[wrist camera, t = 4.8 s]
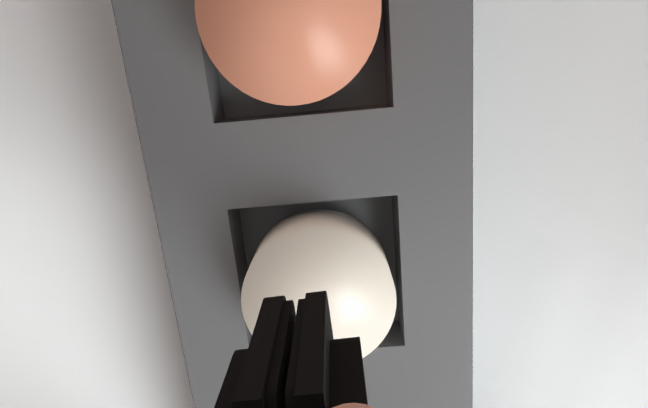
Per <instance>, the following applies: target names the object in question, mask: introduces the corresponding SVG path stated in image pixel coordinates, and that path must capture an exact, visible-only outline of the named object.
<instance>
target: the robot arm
mask: <svg viewBox="0 0 648 408" xmlns="http://www.w3.org/2000/svg"><path fill="white" fill-rule="evenodd" d="M214 408H374V407H371V406H369V405H368V400H367V391H366V383H365V374H364V366H363V358H362V350H361V342H360V337H351V338H341V339H334V338H333V331H332V324H331V317H330V310H329V304H328V297H327V292H326V291H319V292H310V293H306V295H305V299H298V305H297V312H295V306H294V302H293V300H287V301H286V297H285V296H275V297H266V298H264V299H263V301H262V305H261V308H260V311H259V314H258V318H257V321H256V324H255V328H254V331H253V334H252V337H251V341H250V344H249V347H248V349H239V350H235V351H234V353H233V356H232V358H231V361H230V364H229V367H228V370H227V372H226V375H225V378H224V381H223V384H222V387H221V389H220V392H219V395H218V398H217V401H216V404H215V406H214Z"/></svg>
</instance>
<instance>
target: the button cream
mask: <svg viewBox="0 0 648 408" xmlns="http://www.w3.org/2000/svg"><path fill="white" fill-rule="evenodd" d="M319 291H326V292H327V297H328V304H329V310H330V317H331V324H332V331H333V338H334V339H341V338H351V337H360V342H361V350H362V358H364V357H365V356H367V355H368V354H370V353H371V352H372V351H373V350H374V349H376V348H377V347H378V345H379V344H380V343H381V342H382V341H383V340H384V338H385V337H386V335H387V334H388V332H389V330H390V328H391V326H392V323H393V320H394V317H395V312H396V300H397V297H396V289H395V285H394V282H393V278H392V275H391V272H390V268H389V265H388V262H387V259H386V255H385V252H384V250H383V248H382V245H381V243H380V242H379V240H378V239H377V237H376V236H375V235H374V233H373V232H372V231H371V230H370V229H369V228H368V227H367V226H366V225H365V224H363V223H362V222H360V221H359V220H358V219H356V218H354V217H352V216H350V215H347V214H345V213H342V212H339V211H334V210H328V209H312V210H305V211H301V212H298V213H295V214H292V215H290V216H288V217H286V218H284V219H282V220H281V221H279V222H278V223H277V224H275V225H274V226H273V227H272V228H271V229H270V230H269V231H268V232H267V233H266V235H265V236H264V237H263V239H262V240H261V242H260V244H259V246H258V248H257V250H256V252H255V255H254V257H253V259H252V262H251V264H250V266H249V269H248V271H247V273H246V276H245V279H244V282H243V286H242V291H241V306H242V313H243V317H244V320H245V323H246V325H247V327H248V329H249V331H250V333H251V335H252V334H253V331H254V328H255V324H256V321H257V318H258V314H259V311H260V308H261V305H262V301H263V299H264V298H266V297H275V296H285V297H286V301H287V300H293V302H294V306H295V312H297V305H298V299H305V295H306V293H310V292H319Z"/></svg>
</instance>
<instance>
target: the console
mask: <svg viewBox="0 0 648 408" xmlns="http://www.w3.org/2000/svg"><path fill="white" fill-rule="evenodd" d="M111 1H112V6H113V11H114V16H115V21H116V26H117V31H118V35H119V40H120V45H121V50H122V55H123V60H124V65H125V70H126V74H127V79H128V84H129V89H130V94H131V99H132V104H133V109H134V113H135V118H136V123H137V128H138V133H139V138H140V143H141V148H142V152H143V157H144V162H145V167H146V172H147V177H148V182H149V187H150V191H151V196H152V201H153V206H154V211H155V216H156V221H157V226H158V230H159V235H160V240H161V245H162V250H163V255H164V260H165V265H166V269H167V274H168V279H169V284H170V289H171V294H172V299H173V304H174V308H175V313H176V318H177V323H178V328H179V333H180V338H181V343H182V347H183V352H184V357H185V362H186V367H187V372H188V377H189V382H190V386H191V391H192V396H193V401H194V406H195V408H214V406H215V404H216V401H217V398H218V395H219V392H220V389H221V387H222V384H223V381H224V378H225V375H226V372H227V370H228V367H229V364H230V361H231V358H232V356H233V353H234V351H235V350H239V349H248V347H249V344H250V341H251V337H252V335H251V333H250V331H249V329H248V327H247V325H246V323H245V320H244V317H243V313H242V306H241V291H242V286H243V282H244V279H245V276H246V273H247V271H248V269H249V266H250V264H251V262H252V259H253V257H254V255H255V252H256V250H257V248H258V246H259V244H260V242H261V240H262V239H263V237H264V236H265V235H266V233H267V232H268V231H269V230H270V229H271V228H272V227H273V226H274V225H275V224H277V223H278V222H279V221H281V220H282V219H284V218H286V217H288V216H290V215H292V214H295V213H298V212H301V211H305V210H312V209H328V210H334V211H339V212H342V213H345V214H347V215H350V216H352V217H354V218H356V219H358V220H359V221H360V222H362V223H363V224H365V225H366V226H367V227H368V228H369V229H370V230H371V231H372V232H373V233H374V235H375V236H376V237H377V239H378V240H379V242H380V243H381V245H382V248H383V250H384V252H385V255H386V259H387V262H388V265H389V268H390V272H391V275H392V278H393V282H394V285H395V289H396V297H397V300H396V312H395V317H394V320H393V323H392V326H391V328H390V330H389V332H388V334H387V335H386V337H385V338H384V340H383V341H382V342H381V343H380V344H379V345H378V347H377V348H376V349H374V350H373V351H372V352H371V353H370V354H368V355H367V356H365V357H364V358H363V366H364V374H365V383H366V391H367V400H368V405H369V406H371V407H374V408H472V309H473V0H381V21H380V28H379V31H378V35H377V39H376V42H375V44H374V47H373V50H372V52H371V54H370V56H369V57H368V59H367V61H366V63H365V64H364V66H363V67H362V68H361V70H360V71H359V73H358V74H357V75H356V76H355V77H354V78H353V79H352V80H351V81H350V82H349V83H348V84H347V85H345V86H344V87H343V88H342V89H340V90H339V91H337V92H336V93H334V94H332V95H331V96H329V97H326V98H324V99H322V100H319V101H316V102H313V103H310V104H304V105H295V106H284V105H275V104H271V103H267V102H263V101H261V100H258V99H255V98H253V97H251V96H249V95H247V94H245V93H244V92H242V91H240V90H239V89H238V88H236V87H235V86H234V85H232V84H231V83H230V82H229V81H228V80H227V79H226V78H225V77H224V76H223V75H222V74H221V73H220V72H219V70H218V69H217V68H216V67H215V65H214V64H213V62H212V61H211V59H210V58H209V56H208V54H207V52H206V50H205V48H204V46H203V43H202V41H201V38H200V35H199V32H198V27H197V23H196V17H195V0H111Z"/></svg>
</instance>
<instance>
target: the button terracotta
mask: <svg viewBox="0 0 648 408" xmlns="http://www.w3.org/2000/svg"><path fill="white" fill-rule="evenodd" d="M195 17H196V23H197V27H198V32H199V35H200V38H201V41H202V43H203V46H204V48H205V50H206V52H207V54H208V56H209V58H210V59H211V61H212V62H213V64H214V65H215V67H216V68H217V69H218V70H219V72H220V73H221V74H222V75H223V76H224V77H225V78H226V79H227V80H228V81H229V82H230V83H231V84H232V85H234V86H235V87H236V88H238V89H239V90H240V91H242V92H244V93H245V94H247V95H249V96H251V97H253V98H255V99H258V100H261V101H263V102H267V103H271V104H275V105H284V106H295V105H304V104H310V103H313V102H316V101H319V100H322V99H324V98H326V97H329V96H331V95H332V94H334V93H336V92H337V91H339V90H340V89H342V88H343V87H344V86H345V85H347V84H348V83H349V82H350V81H351V80H352V79H353V78H354V77H355V76H356V75H357V74H358V73H359V71H360V70H361V68H362V67H363V66H364V64H365V63H366V61H367V59H368V57H369V56H370V54H371V52H372V50H373V47H374V44H375V42H376V39H377V35H378V31H379V28H380V21H381V0H195Z"/></svg>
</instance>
